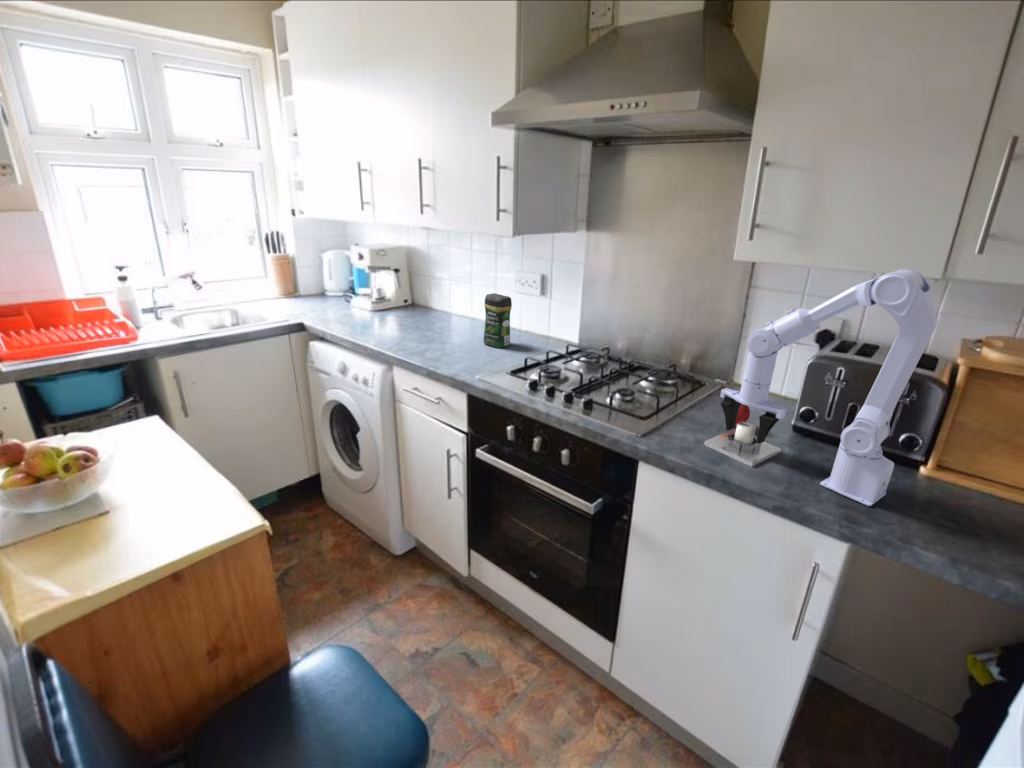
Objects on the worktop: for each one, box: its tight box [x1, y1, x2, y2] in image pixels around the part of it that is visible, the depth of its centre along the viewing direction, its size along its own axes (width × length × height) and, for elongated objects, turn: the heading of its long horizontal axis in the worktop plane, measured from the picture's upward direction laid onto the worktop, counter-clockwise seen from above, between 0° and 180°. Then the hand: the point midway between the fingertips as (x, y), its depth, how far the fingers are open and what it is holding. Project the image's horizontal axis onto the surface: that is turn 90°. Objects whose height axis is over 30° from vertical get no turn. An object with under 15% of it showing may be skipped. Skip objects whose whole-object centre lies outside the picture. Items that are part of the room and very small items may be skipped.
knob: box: [734, 421, 757, 445], centre depth 120 cm, size 4×4×5 cm
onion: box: [734, 404, 751, 427], centre depth 132 cm, size 6×6×8 cm
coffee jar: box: [483, 292, 513, 349], centre depth 188 cm, size 10×8×19 cm
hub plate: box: [703, 428, 782, 468], centre depth 121 cm, size 12×12×2 cm
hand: (744, 435), depth 120 cm, fingers open, 7 cm apart
